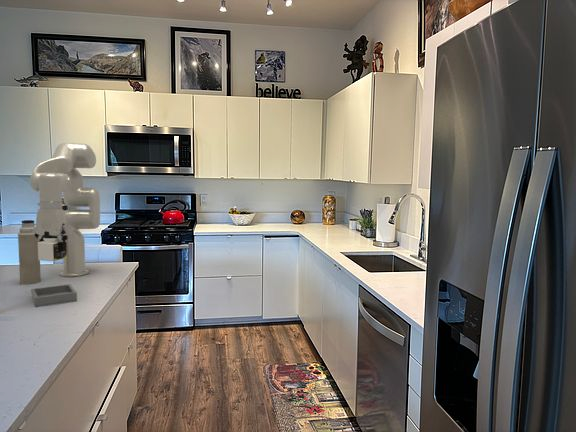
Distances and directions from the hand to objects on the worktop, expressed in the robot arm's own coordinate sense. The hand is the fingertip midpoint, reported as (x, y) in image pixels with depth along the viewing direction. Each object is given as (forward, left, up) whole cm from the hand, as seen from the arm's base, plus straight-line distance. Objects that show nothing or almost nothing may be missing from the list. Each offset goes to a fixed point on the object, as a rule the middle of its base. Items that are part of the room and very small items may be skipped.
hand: (52, 250), depth 163 cm
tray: (0, 0, -20) cm, 20 cm away
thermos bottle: (-33, -5, -20) cm, 39 cm away
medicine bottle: (0, 0, -4) cm, 4 cm away
